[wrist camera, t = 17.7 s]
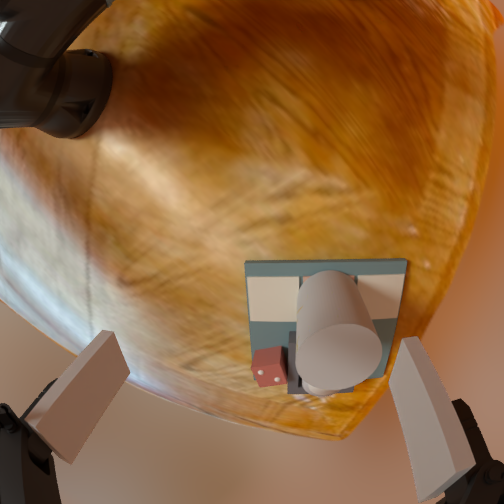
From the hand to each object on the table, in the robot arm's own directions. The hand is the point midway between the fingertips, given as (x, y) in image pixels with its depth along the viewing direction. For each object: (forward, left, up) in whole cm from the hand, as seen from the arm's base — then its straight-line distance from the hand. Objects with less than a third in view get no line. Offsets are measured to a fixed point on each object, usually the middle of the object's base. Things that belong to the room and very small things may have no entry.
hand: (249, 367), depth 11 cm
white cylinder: (+6, -9, -23) cm, 25 cm away
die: (-2, -19, -23) cm, 29 cm away
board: (+6, -14, -24) cm, 28 cm away
